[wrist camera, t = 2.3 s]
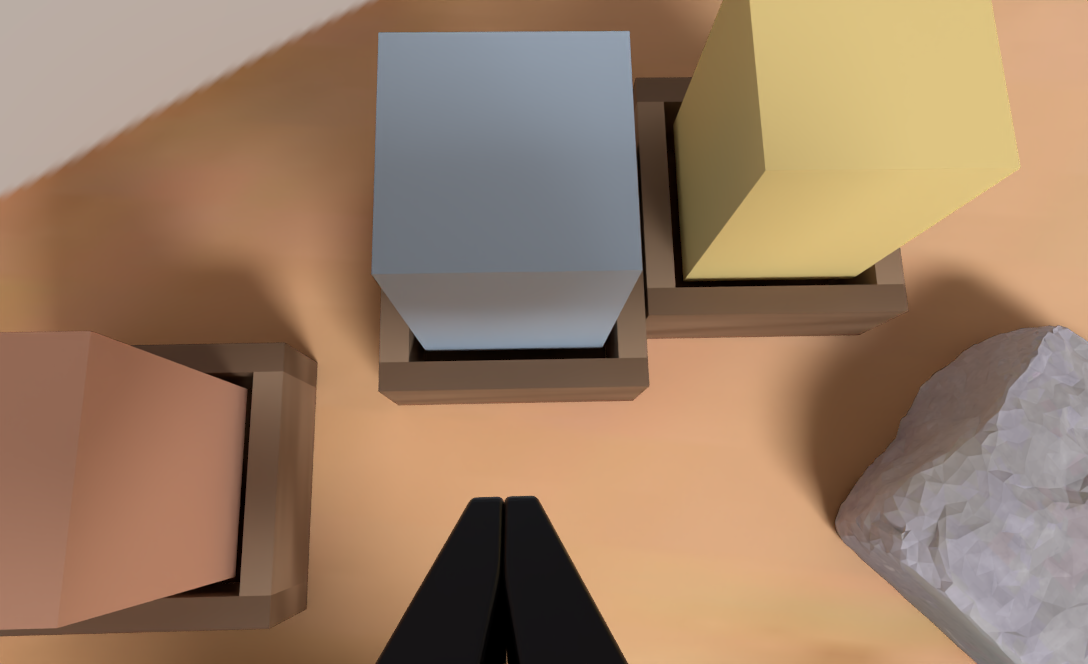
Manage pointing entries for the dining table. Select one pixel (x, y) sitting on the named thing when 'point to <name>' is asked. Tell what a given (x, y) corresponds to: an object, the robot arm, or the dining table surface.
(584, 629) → the robot arm
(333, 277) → the dining table surface
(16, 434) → the tan block
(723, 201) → the ochre block
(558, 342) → the blue-grey block
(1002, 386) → the stone block
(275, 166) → the dining table surface
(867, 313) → the walnut sockets
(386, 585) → the dining table surface
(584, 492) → the dining table surface
